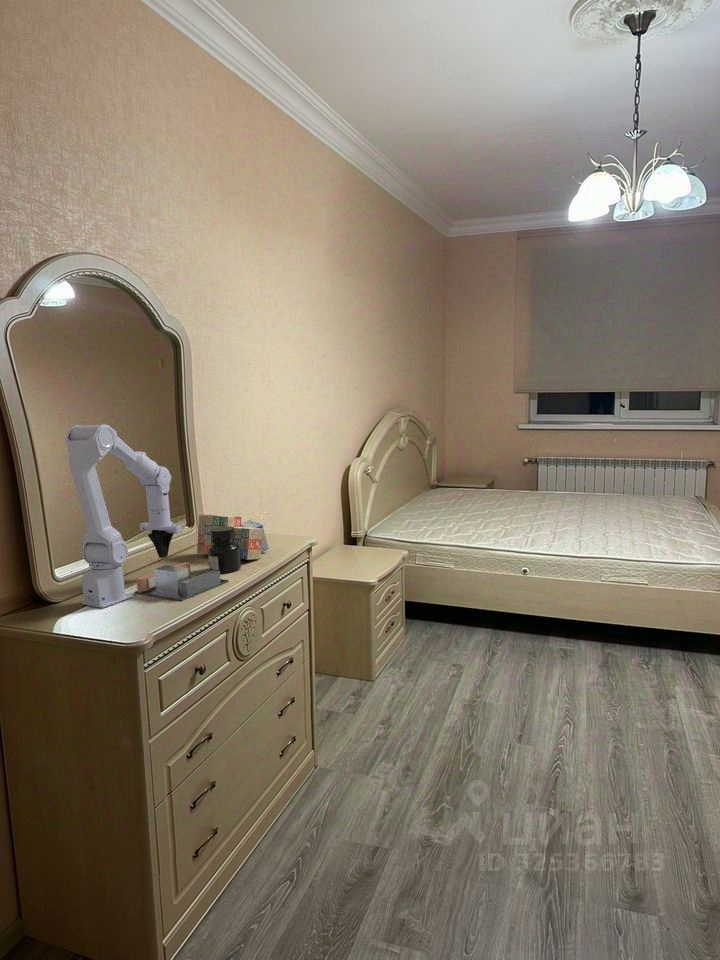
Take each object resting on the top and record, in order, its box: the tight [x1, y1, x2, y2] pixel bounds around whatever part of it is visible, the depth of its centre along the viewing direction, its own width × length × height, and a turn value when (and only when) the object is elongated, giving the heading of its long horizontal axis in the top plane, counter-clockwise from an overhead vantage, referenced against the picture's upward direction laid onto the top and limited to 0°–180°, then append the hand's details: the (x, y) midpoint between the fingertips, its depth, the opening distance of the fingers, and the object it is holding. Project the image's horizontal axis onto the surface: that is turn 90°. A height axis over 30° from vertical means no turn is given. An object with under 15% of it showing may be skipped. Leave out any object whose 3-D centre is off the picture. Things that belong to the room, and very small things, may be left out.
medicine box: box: [241, 519, 270, 554], centre depth 209 cm, size 8×4×9 cm, turn 38°
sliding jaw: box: [135, 561, 192, 592], centre depth 179 cm, size 17×2×3 cm, turn 150°
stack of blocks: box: [196, 514, 263, 561], centre depth 205 cm, size 21×6×12 cm, turn 57°
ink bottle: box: [207, 526, 242, 574], centre depth 191 cm, size 10×9×12 cm
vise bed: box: [134, 570, 229, 602], centre depth 176 cm, size 17×17×4 cm
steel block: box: [153, 564, 190, 595], centre depth 171 cm, size 4×8×6 cm, turn 60°
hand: (163, 556), depth 187 cm, fingers closed
